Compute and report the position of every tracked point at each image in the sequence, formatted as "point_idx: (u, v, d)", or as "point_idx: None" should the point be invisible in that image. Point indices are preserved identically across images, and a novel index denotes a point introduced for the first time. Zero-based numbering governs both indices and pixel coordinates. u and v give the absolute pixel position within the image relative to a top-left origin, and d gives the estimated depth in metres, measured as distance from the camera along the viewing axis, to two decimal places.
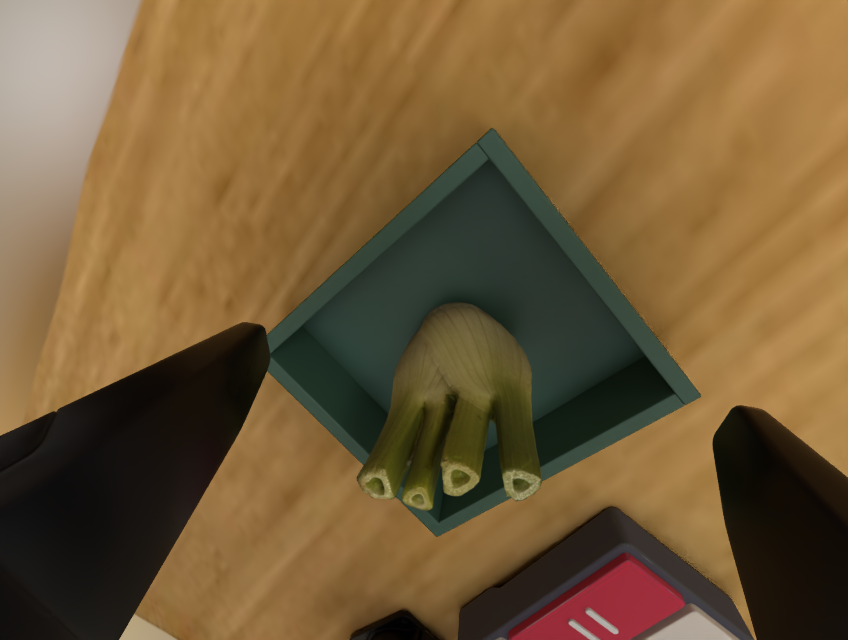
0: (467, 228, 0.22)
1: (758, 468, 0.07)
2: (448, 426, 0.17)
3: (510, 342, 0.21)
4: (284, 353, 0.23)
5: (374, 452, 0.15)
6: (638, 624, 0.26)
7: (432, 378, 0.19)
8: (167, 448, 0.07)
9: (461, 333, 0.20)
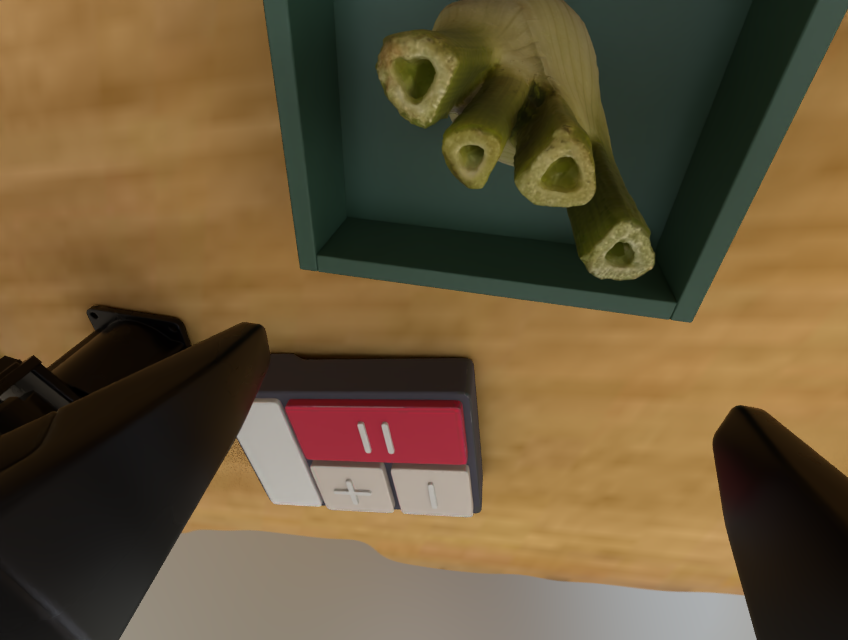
0: None
1: (758, 468, 0.07)
2: None
3: None
4: None
5: None
6: (414, 456, 0.26)
7: (520, 46, 0.11)
8: (167, 448, 0.07)
9: (579, 35, 0.12)
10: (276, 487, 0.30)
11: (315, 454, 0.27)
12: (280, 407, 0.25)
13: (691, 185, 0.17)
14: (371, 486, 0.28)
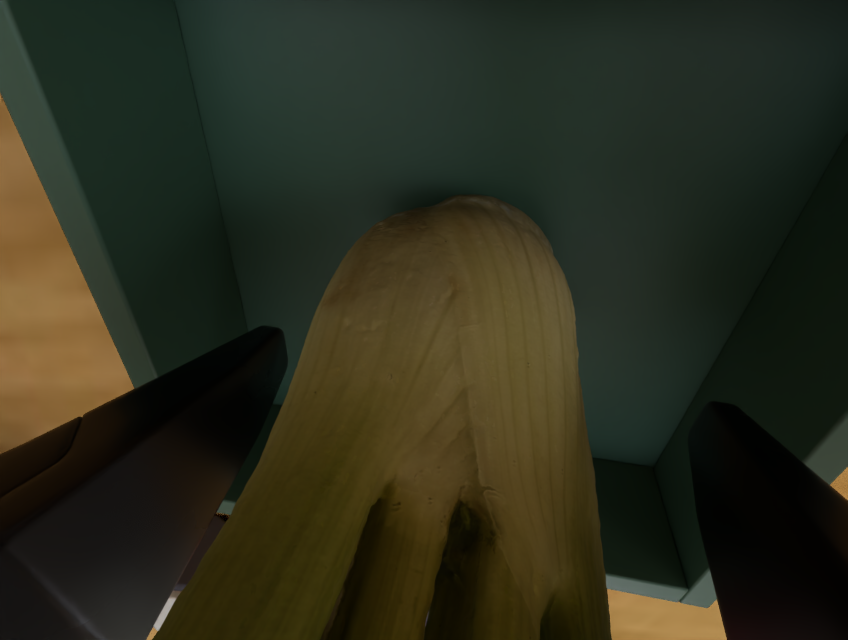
0: (691, 104, 0.09)
1: (728, 463, 0.07)
2: None
3: None
4: None
5: None
6: None
7: (439, 410, 0.06)
8: (191, 453, 0.07)
9: (546, 327, 0.08)
10: None
11: None
12: None
13: None
14: None
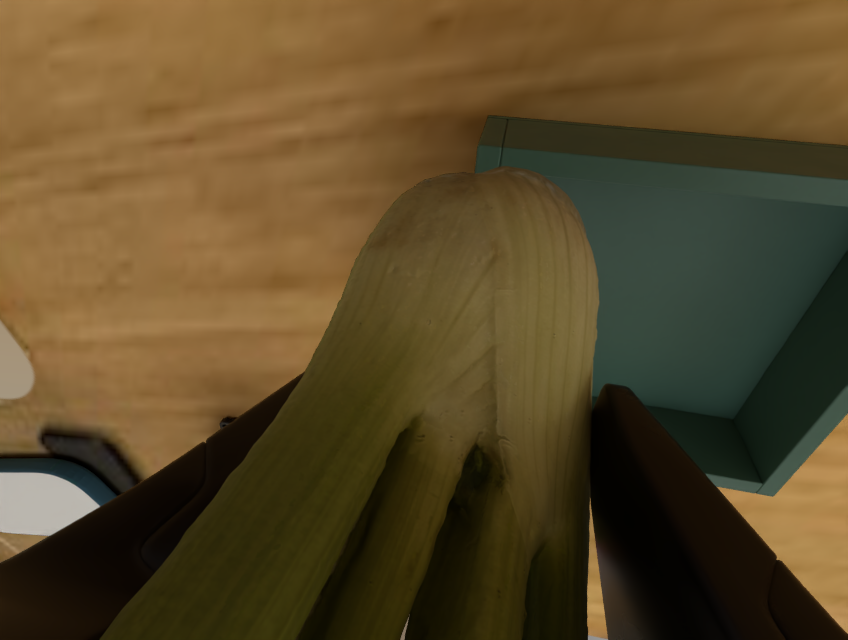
0: (777, 216, 0.18)
1: (610, 441, 0.07)
2: None
3: None
4: None
5: None
6: None
7: (469, 362, 0.07)
8: None
9: (574, 305, 0.08)
10: None
11: None
12: None
13: (774, 387, 0.21)
14: None
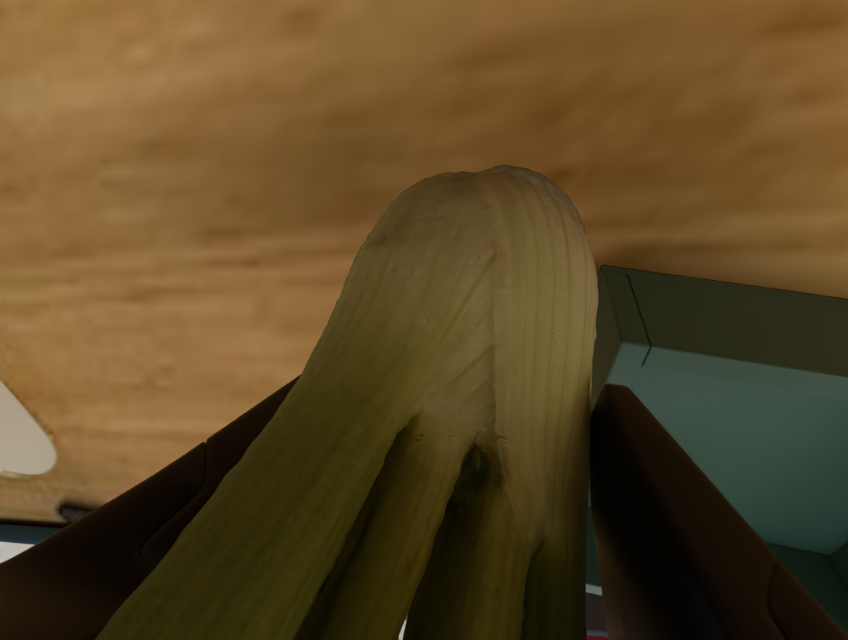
0: None
1: (610, 441, 0.07)
2: None
3: None
4: None
5: None
6: None
7: (467, 361, 0.07)
8: None
9: (573, 305, 0.08)
10: None
11: None
12: None
13: None
14: None
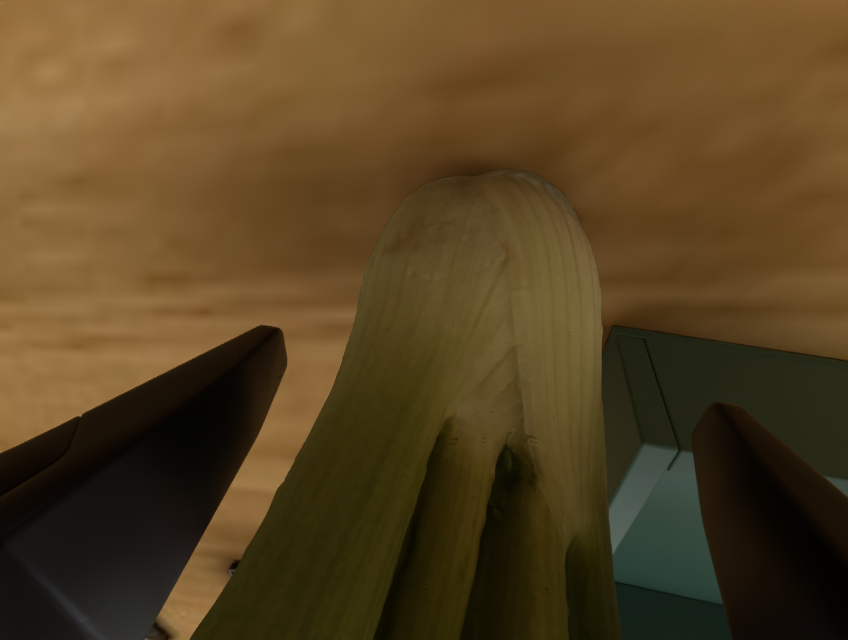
0: None
1: (732, 463, 0.07)
2: None
3: None
4: None
5: None
6: None
7: (492, 362, 0.07)
8: (190, 453, 0.07)
9: (584, 303, 0.08)
10: None
11: None
12: None
13: None
14: None
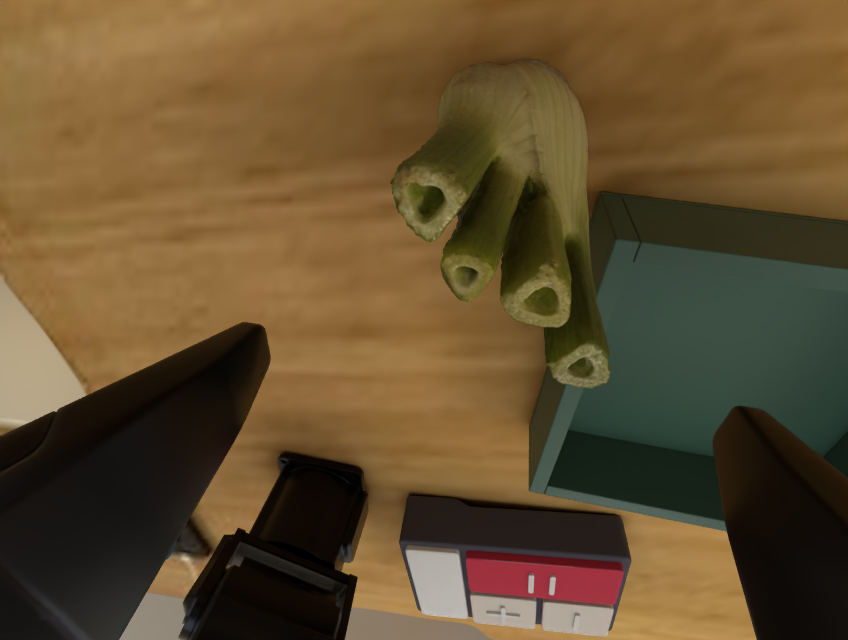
0: None
1: (758, 468, 0.07)
2: None
3: None
4: None
5: (448, 153, 0.08)
6: (570, 597, 0.31)
7: (521, 138, 0.12)
8: (167, 448, 0.07)
9: (575, 127, 0.13)
10: (431, 604, 0.35)
11: (479, 588, 0.32)
12: (459, 556, 0.30)
13: None
14: (521, 611, 0.33)
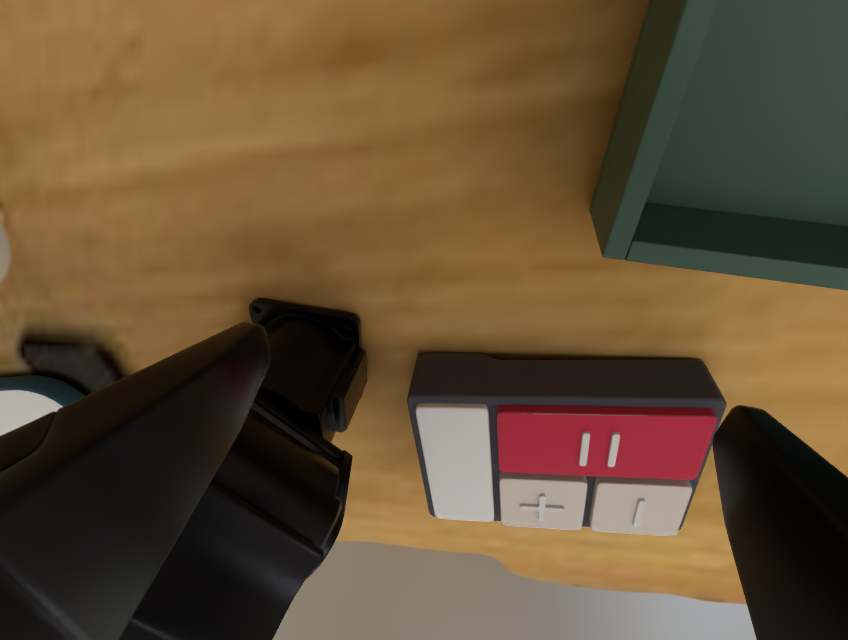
0: None
1: (758, 468, 0.07)
2: None
3: None
4: None
5: None
6: (635, 470, 0.23)
7: None
8: (167, 448, 0.07)
9: None
10: (447, 500, 0.27)
11: (513, 466, 0.24)
12: (488, 414, 0.23)
13: None
14: (566, 501, 0.25)
